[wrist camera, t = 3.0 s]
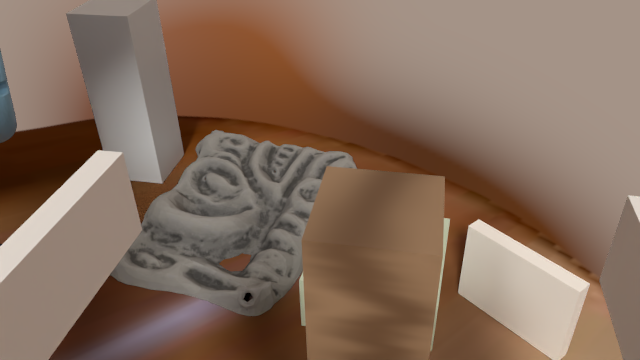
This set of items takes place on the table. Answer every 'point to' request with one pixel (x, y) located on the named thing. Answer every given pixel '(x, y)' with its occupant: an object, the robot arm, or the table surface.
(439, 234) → the walnut block
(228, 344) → the table surface
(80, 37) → the grey plastic block
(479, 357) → the table surface
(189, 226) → the wall plaque
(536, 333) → the card
